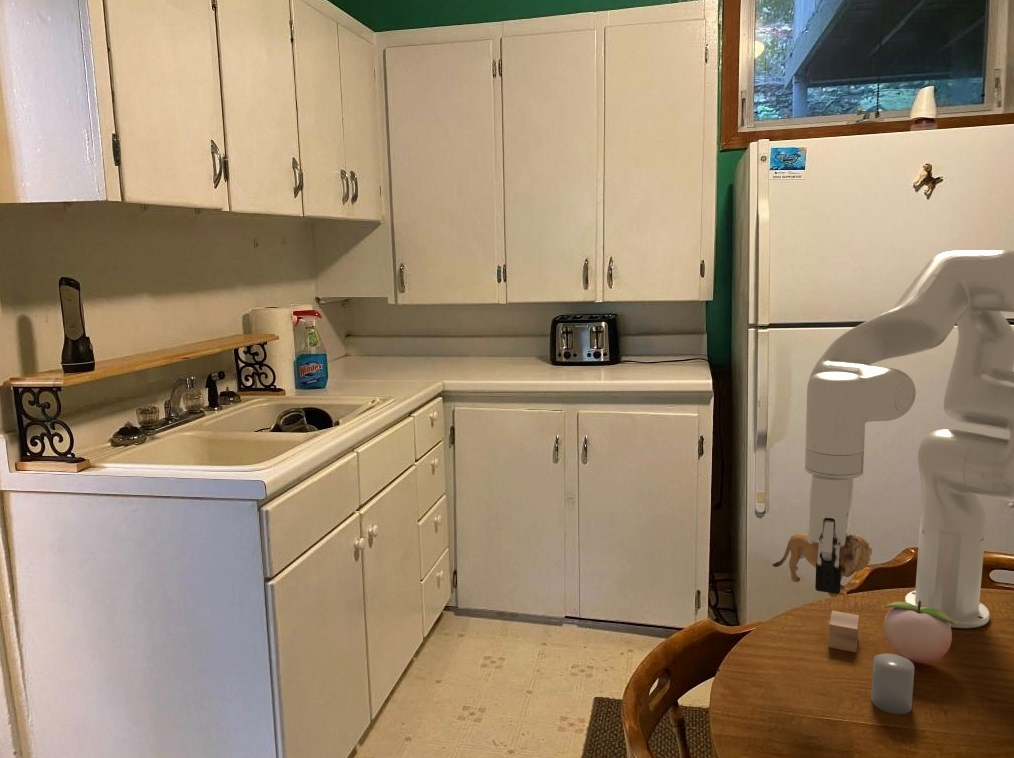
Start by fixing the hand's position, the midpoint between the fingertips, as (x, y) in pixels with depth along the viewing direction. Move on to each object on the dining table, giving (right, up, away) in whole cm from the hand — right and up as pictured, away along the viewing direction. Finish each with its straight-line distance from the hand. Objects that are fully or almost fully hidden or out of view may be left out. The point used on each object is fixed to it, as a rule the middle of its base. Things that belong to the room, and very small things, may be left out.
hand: (829, 580), depth 111 cm
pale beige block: (+7, -13, +12) cm, 19 cm away
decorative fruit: (+15, -14, +5) cm, 21 cm away
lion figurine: (-1, -1, +2) cm, 2 cm away
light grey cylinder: (+7, -16, -4) cm, 18 cm away
